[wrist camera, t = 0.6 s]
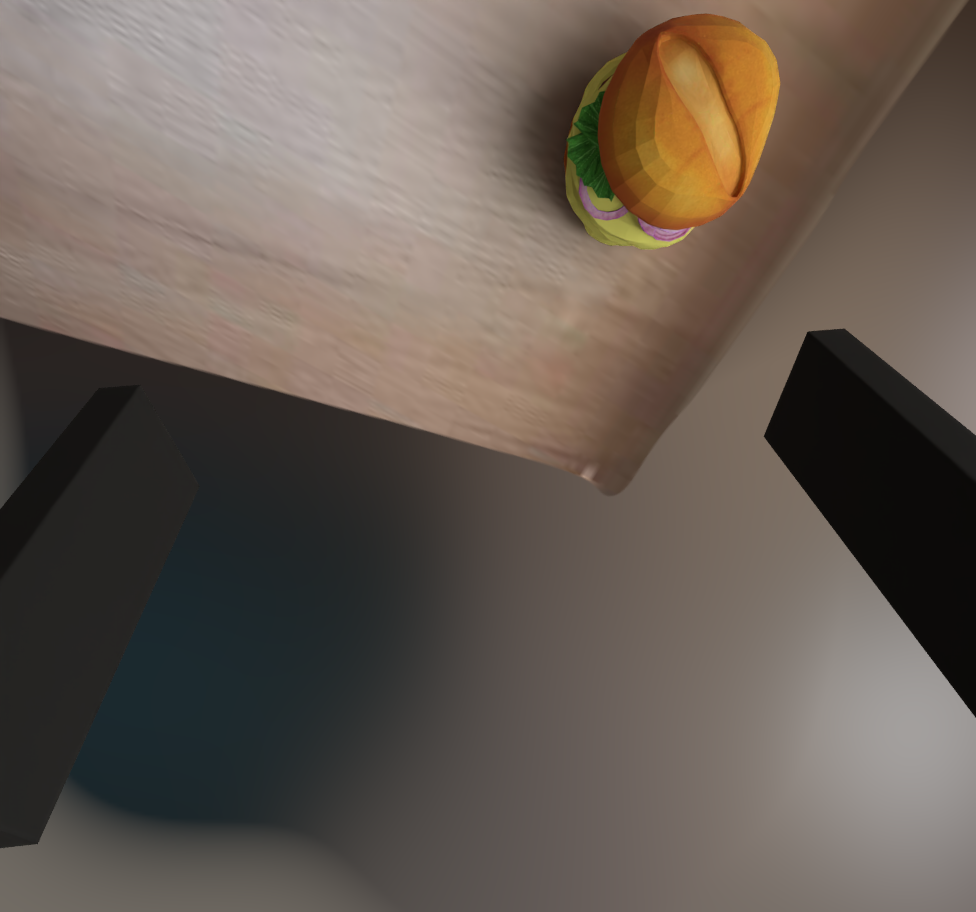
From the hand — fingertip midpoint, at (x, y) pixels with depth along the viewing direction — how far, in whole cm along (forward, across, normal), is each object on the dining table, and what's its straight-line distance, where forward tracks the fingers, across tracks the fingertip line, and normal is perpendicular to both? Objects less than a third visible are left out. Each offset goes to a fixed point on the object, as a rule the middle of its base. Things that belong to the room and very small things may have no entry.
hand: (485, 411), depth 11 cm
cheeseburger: (+26, +12, -1) cm, 29 cm away
